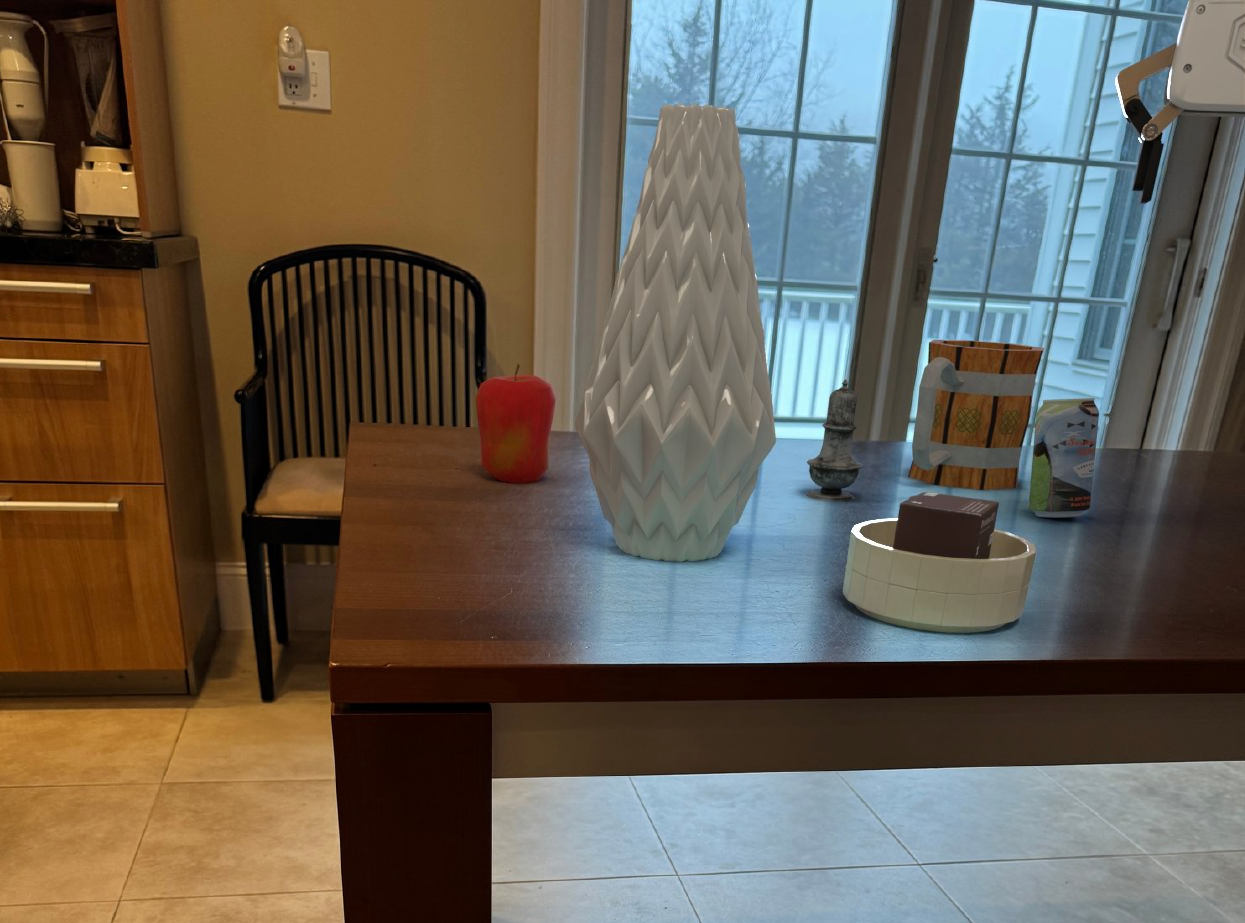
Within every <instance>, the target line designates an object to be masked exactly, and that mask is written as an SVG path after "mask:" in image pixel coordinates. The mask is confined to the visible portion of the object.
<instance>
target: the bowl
mask: <svg viewBox="0 0 1245 923" xmlns="http://www.w3.org/2000/svg"><path fill="white" fill-rule="evenodd" d="M897 519H898V518H881V519H875V520H873V519H872V520H868V521H863V522H861V523H860V522H859V523H858V524H855V525H853V527H852V529H851V531H850V536H849V543H848V549H847V557H846V564H845V571H844V578H843V585H842V595H843V596H844V598H845V600H846V601H848V602H849V603H852V604H853V605H854V606H855V608H856V609H857V610H858V611H860V612H861V613H863V614H865V615H867V616H868V617H870V618H873V619H875V620H879V621H882V622H884V623H888V624H891V625H894V626H895V625H896V626H900V627H905V628H909V629H913V630H915V629H916V630H921V631H929V632H938V633H959V634H960V633H962V634H963V633H965V634H966V633H981V632H988V631H992V630H993V631H994V630H997V629H999V628H1002V627H1003V626H1006V624H1008V623H1013V622H1015V621H1016V620H1019V619H1020V618H1021V617H1022V616H1023V614H1024V610H1025V606H1026V600H1027V596H1028V592H1029V587H1030V583H1031V577H1032V573H1033V569H1034V568H1033V567H1034V564H1035V558H1036V554H1037V550H1036V549H1037V548H1036V545H1035V544H1033V543H1032V542H1030V541H1029V540H1028V539H1026V538H1024V537H1022V536H1019V535H1017V534H1013V533H1011V532H1008V531H1004V530H999V529H997V528H994V533H993V539H992V544H991V550H990V555H989V559H966V558H949V557H940V556H932V555H923V554H918V553H912V552H907V551H902V550H897V549H894V548H893V544H894V538H895V531H896V525H897Z"/></svg>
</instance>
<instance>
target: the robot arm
mask: <svg viewBox="0 0 1245 923" xmlns="http://www.w3.org/2000/svg"><path fill="white" fill-rule="evenodd" d="M1178 30H1179V31H1178V34H1177V38H1176V41H1175V43H1173V44H1171V45H1169V46H1167V47H1165V48H1163V49H1161V50H1159V51H1157V52H1155V53H1153V54H1151V55H1149V56H1147V57H1145V58H1143V59H1141V60H1139V61H1137V62H1135V63H1133V64H1131V65H1129V66H1127V67H1125V68H1123V69H1122V70H1120V71H1119V72H1118V74H1117V75H1116V77H1115V86H1116V89H1117V93H1118V97H1119V101H1120V104H1121V109H1122V112H1123V113H1122V114H1123V117H1124V118H1125V120H1126V121H1127V123H1128V124H1129V126H1130V128H1131V129H1132V130H1133V131H1134V133H1135V135H1136V136H1137V137H1138V140H1139V142H1140V143H1141V144H1140V149H1139V153H1138V158H1137V162H1136V167H1135V171H1134V176H1133V179H1132V180H1133V181H1132V186H1131V192H1139V194H1138V198H1137V204H1138V205H1139V204H1140V205H1146V204H1148V203H1149V202H1151V201H1152V199H1153V194H1154V190H1155V185H1156V182H1157V178H1158V172H1159V168H1160V164H1161V160H1162V155H1163V150H1164V145H1165V143H1164V142H1163V140H1162V139H1163V134H1164V133H1163V132H1164V130H1166V129H1167V127H1169V126H1170V125H1171V124H1172V123H1173V121H1175V120H1176V119H1177V118H1178V117H1180V115H1181V116H1191V117H1222V118H1226V117H1227V118H1245V0H1188V1H1187V4H1186V6H1185V10H1184V13H1183V16H1182V20H1181V23H1180V27H1179V29H1178ZM1167 69H1168V72H1167V77H1166V81H1165V86H1164V87H1165V88H1164V92H1163V105H1164V106H1163V107H1162V108H1160V110H1159V111H1158V112H1157V113H1156V114H1155V115H1154V116H1152V115H1151V114H1150V112H1149V110H1148V109H1147V107H1146V106H1145V105H1144V103H1143V101H1142V99H1141V95H1140V90H1139V86H1140V83H1141V82H1143V81H1145V80H1147V79H1149V78H1151V77H1153V76H1155V75H1157V74H1159V73H1161V72H1163V71H1165V70H1167Z"/></svg>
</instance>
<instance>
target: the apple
mask: <svg viewBox="0 0 1245 923" xmlns="http://www.w3.org/2000/svg"><path fill="white" fill-rule="evenodd" d="M516 364H517V365H516V368H515V372H514V375H503V376H502V375H501V376H492V377H490V378H488V379H487V380H485V381H482V382H481V383H480V384H479V388H478V390H477V392H476V395H475V398H474V400H475V408H476V409H475V410H476V419H477V425H478V431H479V436H480V452H481V453H480V454H481V466H482V467H483V468H484V469H485V470H486V471H487V472H488V473H489V475H491V477H493V478H494V479H495V480H497V481H500V482H503V483H511V484H529V483H535V482H538V481H539V480H540V479H541V478H542V476H543V475H544V474H546V472H547V471H548V469H549V464H550V462H549V458H550V457H549V455H550V437H551V433H552V427H553V421H554V414H555V408H556V400H557V397H556V394H555V391H554V390H553V386H552V384H551V383H549V382H548V381H546V380H544V379H543V378H542V377H539V376H538V375H534V374H533V375H532V374H519V375H518V373H519V370H520V367H521V366H520V364H519V363H516Z"/></svg>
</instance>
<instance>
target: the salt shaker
mask: <svg viewBox="0 0 1245 923" xmlns="http://www.w3.org/2000/svg"><path fill="white" fill-rule="evenodd" d="M841 385H842V386H841V387H839V388H838V389H835V390H833V391H831V393H830V394H829V397H828V406H827V413H826V421H825V422H824V423H822V427H823V428H824V431H823V432H824V433H823V438H822V439H823V440H822V446H821V448H820V451H819V454H818V455H817V456H815V457H814V458H810V459H808V460H807V461H806V463H807V465H808V466H809V468H808V472H809V477H810V480H811V481H812V482H813V483H814V484H815V485H816V486H818V487H820V488H815V489H811V490H810V491H808V492H806V494H805V496H806V497H808V498H810V499H814V500H820V501H827V502H852V501H854V500H856V497H855V496H854V495H853V494H851V492H848V491H845V490H843V489H846V488H849V487H851V486H852V485H853V484H854V483H855V481H856V479H857V478H858V476H859V471H860V469H862V468H863V464H862V463H860V462H858V461H856V460H855V458H854V457H853V452H852V444H853V439H854V438H853V437H854V431H855V430H857V428H858V427H857V426H856V425H855V417H856V409H857V402H858V396H857V394H856V393H855V392H854V391H853V390H851V389H850V388H849V387H848V385H849V383H848V380H847V379H846V378H845V379H844V380H843V381H842V383H841Z"/></svg>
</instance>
